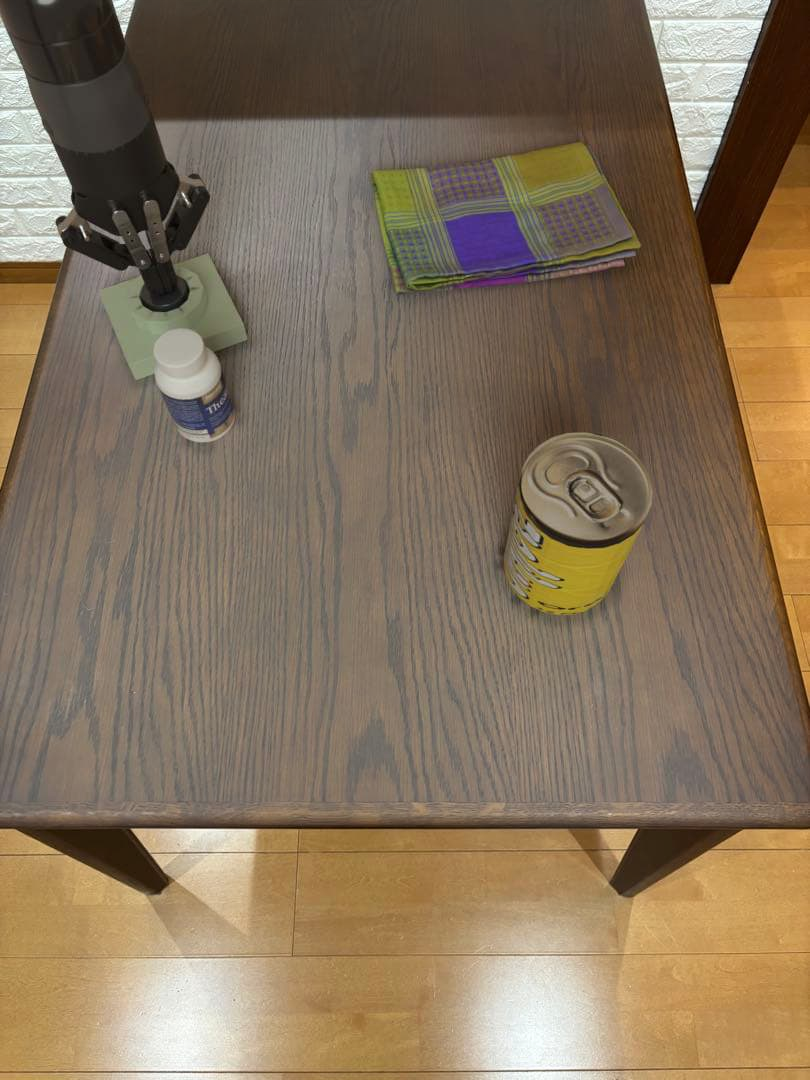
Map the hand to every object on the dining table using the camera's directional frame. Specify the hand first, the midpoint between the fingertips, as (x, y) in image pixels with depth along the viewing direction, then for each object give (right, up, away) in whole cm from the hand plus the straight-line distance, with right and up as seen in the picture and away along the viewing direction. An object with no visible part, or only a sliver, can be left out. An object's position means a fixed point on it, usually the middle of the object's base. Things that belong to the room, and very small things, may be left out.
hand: (163, 288), depth 75 cm
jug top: (0, -2, +4) cm, 5 cm away
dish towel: (+32, +9, +10) cm, 34 cm away
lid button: (0, -1, +2) cm, 2 cm away
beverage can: (+34, -25, -8) cm, 43 cm away
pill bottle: (+4, -12, -1) cm, 13 cm away
